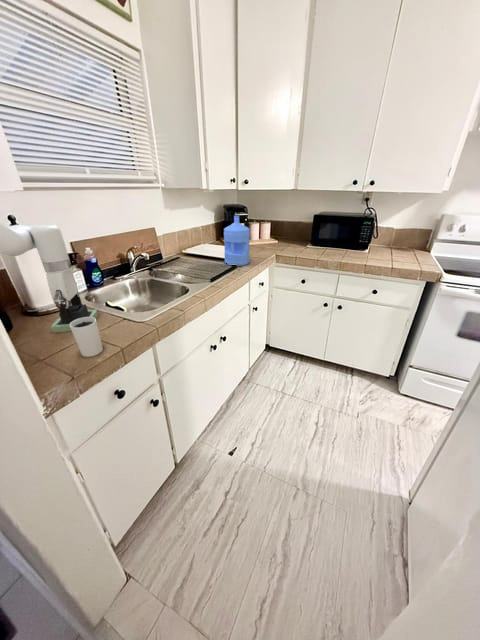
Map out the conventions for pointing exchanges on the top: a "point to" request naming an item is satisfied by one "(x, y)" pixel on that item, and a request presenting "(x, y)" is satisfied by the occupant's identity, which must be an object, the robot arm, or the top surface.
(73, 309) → the black stud pad
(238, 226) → the water jug
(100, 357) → the top surface
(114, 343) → the top surface
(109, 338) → the top surface
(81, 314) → the dark grey square bin
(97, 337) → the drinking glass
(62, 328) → the green square tray
